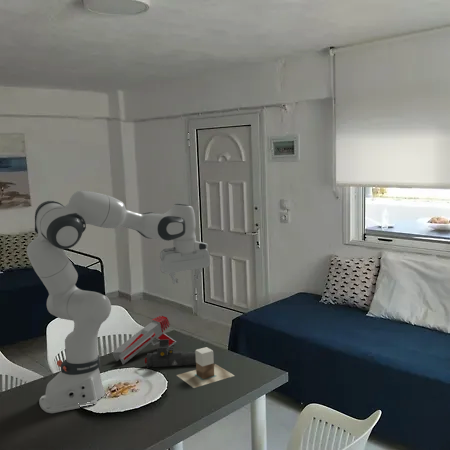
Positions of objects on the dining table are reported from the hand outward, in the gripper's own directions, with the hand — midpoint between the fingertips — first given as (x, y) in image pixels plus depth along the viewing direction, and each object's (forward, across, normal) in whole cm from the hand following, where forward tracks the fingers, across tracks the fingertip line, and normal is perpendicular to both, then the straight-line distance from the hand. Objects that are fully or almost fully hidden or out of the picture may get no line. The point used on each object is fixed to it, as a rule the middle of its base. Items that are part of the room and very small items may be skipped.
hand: (186, 281), depth 198 cm
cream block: (+31, +3, -7) cm, 32 cm away
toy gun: (+37, -5, +30) cm, 48 cm away
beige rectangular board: (+37, +3, -7) cm, 38 cm away
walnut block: (+36, +3, -7) cm, 37 cm away
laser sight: (+38, -2, +11) cm, 39 cm away
